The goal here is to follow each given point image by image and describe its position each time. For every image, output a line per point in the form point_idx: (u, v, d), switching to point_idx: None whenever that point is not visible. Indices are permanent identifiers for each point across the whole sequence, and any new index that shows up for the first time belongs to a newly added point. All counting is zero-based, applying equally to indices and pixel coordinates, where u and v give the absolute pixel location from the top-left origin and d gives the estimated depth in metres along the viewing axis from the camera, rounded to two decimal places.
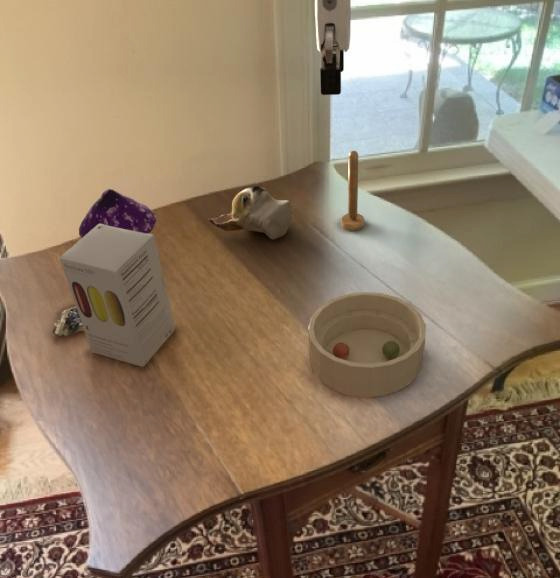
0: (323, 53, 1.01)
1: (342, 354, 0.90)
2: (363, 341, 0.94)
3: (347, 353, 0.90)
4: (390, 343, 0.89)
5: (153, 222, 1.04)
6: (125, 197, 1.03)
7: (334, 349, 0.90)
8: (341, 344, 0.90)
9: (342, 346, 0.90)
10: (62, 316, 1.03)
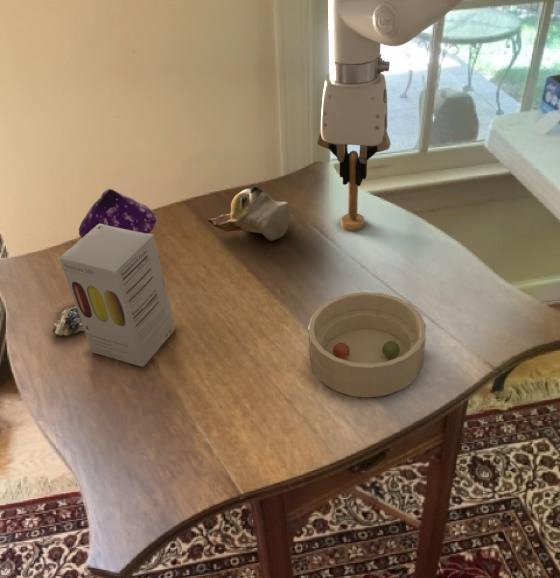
0: (367, 150, 1.06)
1: (342, 354, 0.90)
2: (363, 341, 0.94)
3: (347, 353, 0.90)
4: (390, 343, 0.89)
5: (153, 222, 1.04)
6: (125, 197, 1.03)
7: (334, 349, 0.90)
8: (341, 344, 0.90)
9: (342, 346, 0.90)
10: (62, 316, 1.03)
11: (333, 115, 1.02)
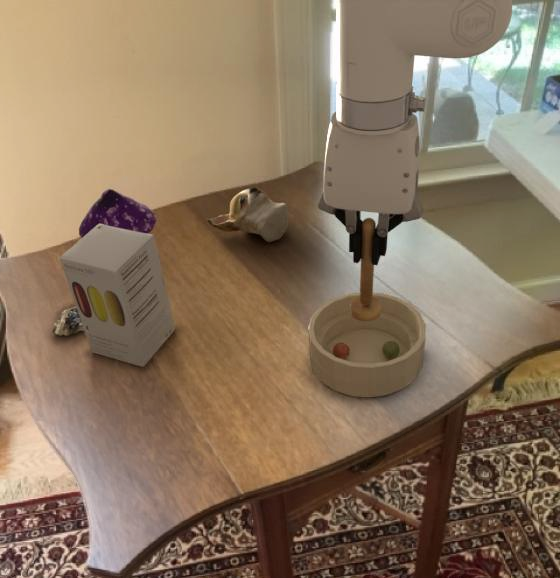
0: (389, 219, 0.74)
1: (342, 354, 0.90)
2: (363, 341, 0.94)
3: (347, 353, 0.90)
4: (390, 343, 0.89)
5: (153, 222, 1.04)
6: (125, 197, 1.03)
7: (334, 349, 0.90)
8: (341, 344, 0.90)
9: (342, 346, 0.90)
10: (62, 316, 1.03)
11: (341, 172, 0.70)
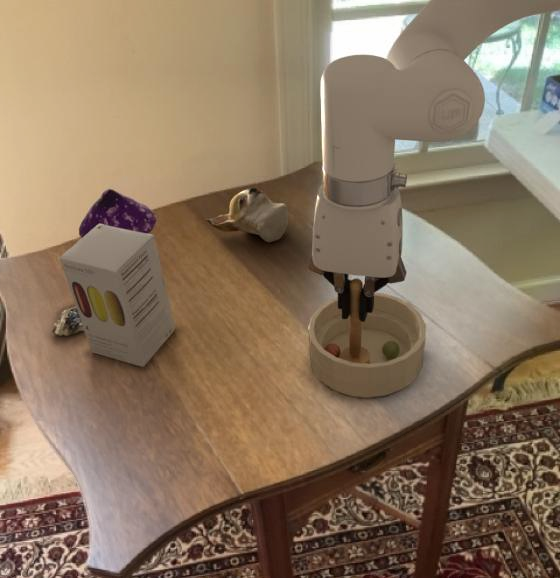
0: (374, 281, 0.78)
1: None
2: (363, 341, 0.94)
3: (333, 351, 0.89)
4: (390, 343, 0.89)
5: (153, 222, 1.04)
6: (125, 197, 1.03)
7: None
8: (324, 348, 0.90)
9: (325, 350, 0.90)
10: (62, 316, 1.03)
11: (329, 240, 0.75)
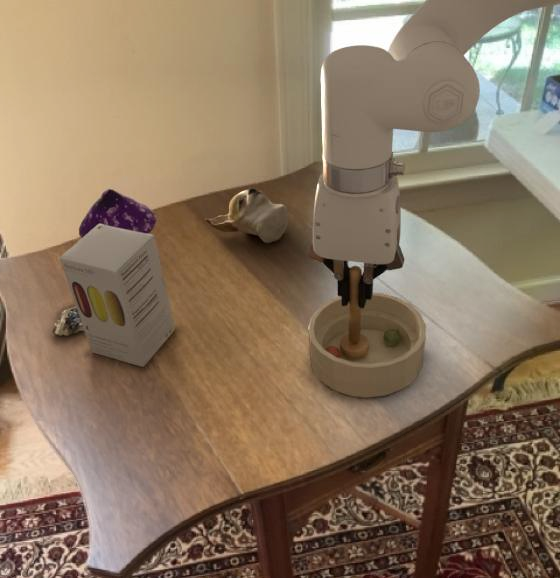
0: (373, 268, 0.80)
1: None
2: None
3: None
4: (396, 331, 0.91)
5: (153, 222, 1.04)
6: (125, 197, 1.03)
7: None
8: None
9: None
10: (62, 316, 1.03)
11: (329, 227, 0.77)
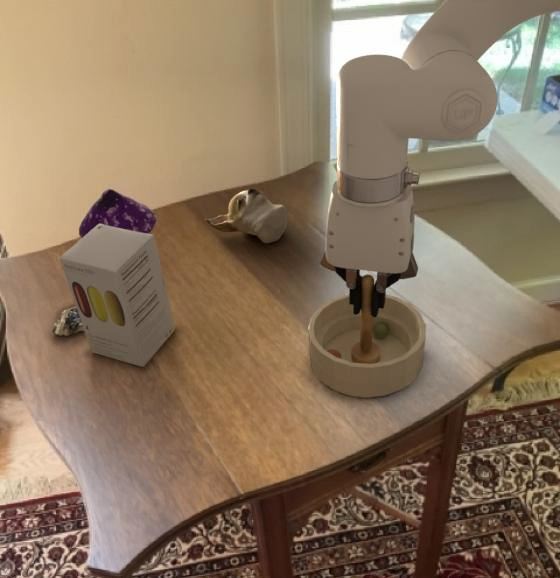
0: (387, 277, 0.80)
1: None
2: None
3: None
4: None
5: (153, 222, 1.04)
6: (125, 197, 1.03)
7: None
8: None
9: None
10: (62, 316, 1.03)
11: (342, 236, 0.76)
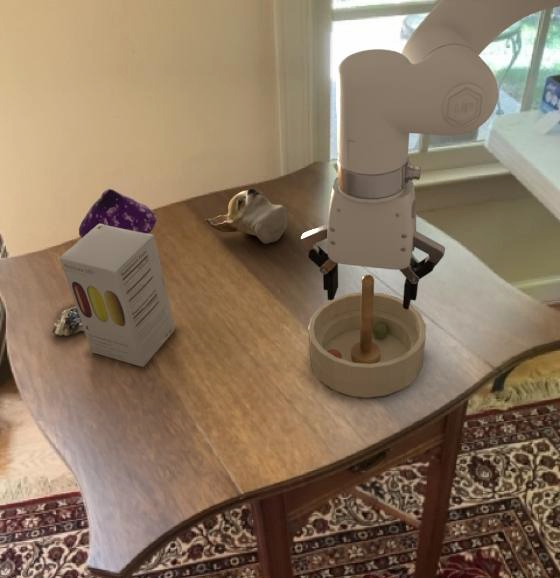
0: (410, 266, 0.78)
1: None
2: None
3: None
4: None
5: (153, 222, 1.04)
6: (125, 197, 1.03)
7: None
8: None
9: None
10: (62, 316, 1.03)
11: (344, 233, 0.76)
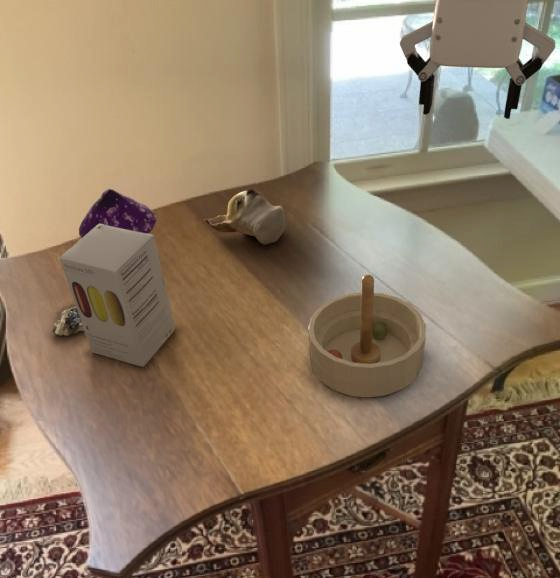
0: (517, 64, 0.75)
1: None
2: None
3: None
4: None
5: (153, 222, 1.04)
6: (125, 197, 1.03)
7: None
8: None
9: None
10: (62, 316, 1.03)
11: (452, 22, 0.73)
